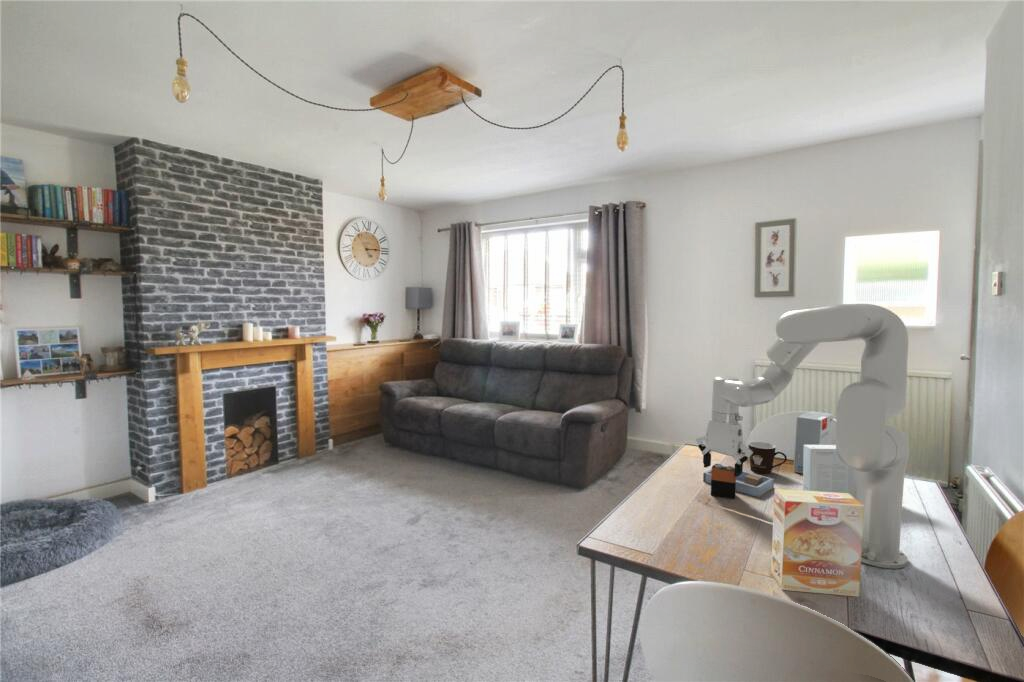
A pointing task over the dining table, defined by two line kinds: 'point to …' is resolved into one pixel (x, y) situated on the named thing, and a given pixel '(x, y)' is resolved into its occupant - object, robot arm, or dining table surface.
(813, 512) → the coffeecake box
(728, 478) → the battery
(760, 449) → the coffee mug
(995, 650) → the dining table surface
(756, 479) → the walnut block
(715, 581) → the dining table surface
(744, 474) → the bin
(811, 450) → the skincare box
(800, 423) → the hard drive box
